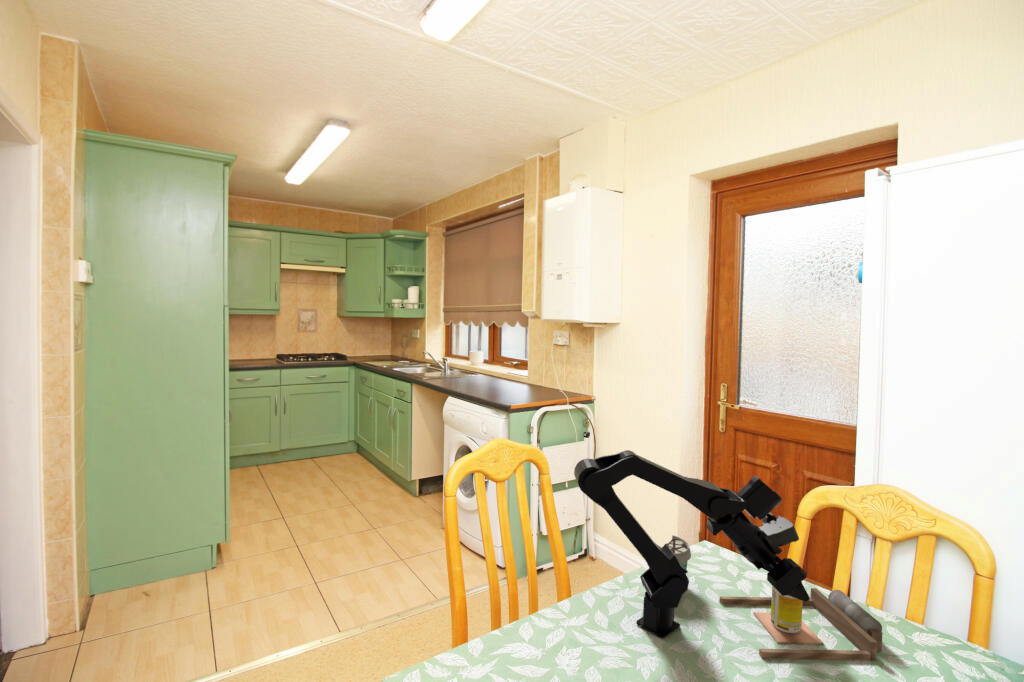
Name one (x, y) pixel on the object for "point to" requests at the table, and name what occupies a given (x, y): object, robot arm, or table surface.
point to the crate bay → (837, 612)
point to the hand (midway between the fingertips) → (794, 587)
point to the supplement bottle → (786, 612)
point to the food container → (680, 549)
